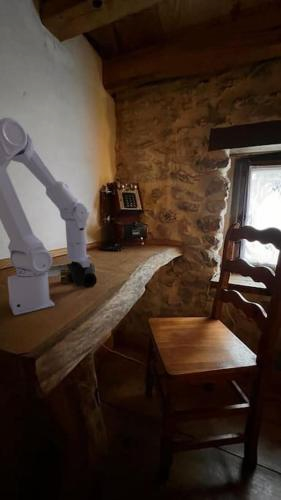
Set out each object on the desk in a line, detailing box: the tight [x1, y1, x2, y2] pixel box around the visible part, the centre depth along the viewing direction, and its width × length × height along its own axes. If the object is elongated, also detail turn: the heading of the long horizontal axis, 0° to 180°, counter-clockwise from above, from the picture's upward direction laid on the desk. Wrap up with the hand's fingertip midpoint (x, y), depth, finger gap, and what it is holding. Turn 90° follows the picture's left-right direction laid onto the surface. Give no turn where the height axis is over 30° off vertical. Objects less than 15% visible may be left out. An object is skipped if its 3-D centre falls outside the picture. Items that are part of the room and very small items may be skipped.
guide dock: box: [48, 259, 95, 278], centre depth 91 cm, size 20×4×4 cm, turn 126°
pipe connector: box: [59, 266, 98, 288], centre depth 81 cm, size 12×5×15 cm
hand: (78, 285), depth 73 cm, fingers closed
